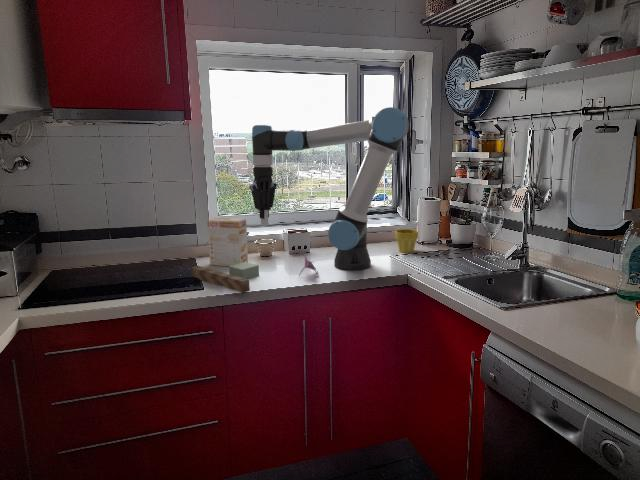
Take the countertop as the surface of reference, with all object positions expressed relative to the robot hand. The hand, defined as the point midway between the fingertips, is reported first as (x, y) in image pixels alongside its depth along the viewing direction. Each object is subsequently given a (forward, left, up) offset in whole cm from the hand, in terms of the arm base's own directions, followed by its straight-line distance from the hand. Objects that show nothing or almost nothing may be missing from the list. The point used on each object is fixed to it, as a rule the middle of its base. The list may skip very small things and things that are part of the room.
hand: (264, 226), depth 179 cm
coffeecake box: (+19, +4, -18) cm, 26 cm away
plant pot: (-29, -62, -18) cm, 71 cm away
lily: (-19, -5, -18) cm, 27 cm away
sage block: (0, +12, -18) cm, 22 cm away
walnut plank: (0, +24, -18) cm, 30 cm away
